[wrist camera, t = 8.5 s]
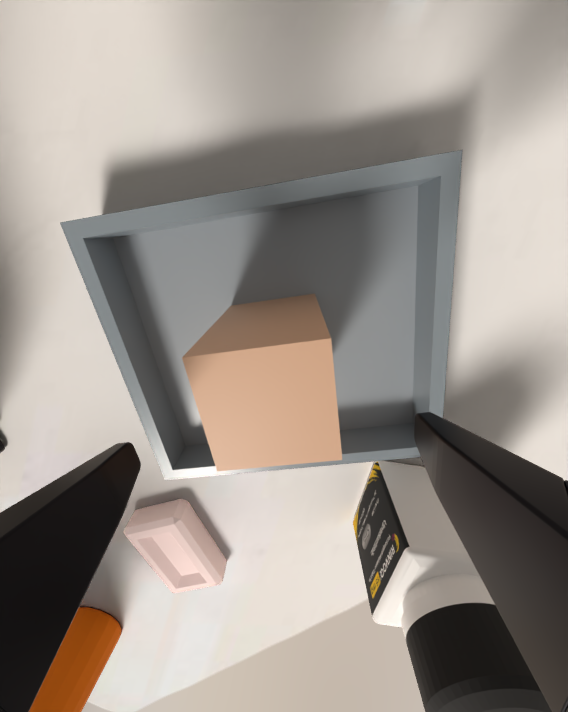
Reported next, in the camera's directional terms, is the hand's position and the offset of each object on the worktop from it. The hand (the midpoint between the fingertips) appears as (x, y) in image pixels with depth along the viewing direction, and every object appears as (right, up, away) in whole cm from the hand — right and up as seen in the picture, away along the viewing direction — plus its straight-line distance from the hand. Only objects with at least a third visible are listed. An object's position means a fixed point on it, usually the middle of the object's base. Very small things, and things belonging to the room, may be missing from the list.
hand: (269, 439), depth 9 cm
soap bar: (-9, -14, +18) cm, 24 cm away
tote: (0, +4, +9) cm, 10 cm away
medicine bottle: (+10, -9, +14) cm, 20 cm away
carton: (0, +4, +9) cm, 9 cm away
